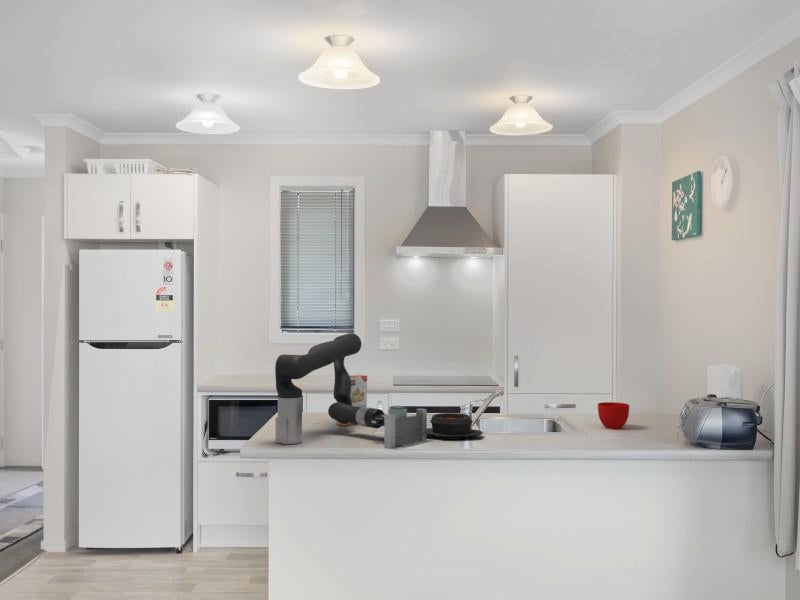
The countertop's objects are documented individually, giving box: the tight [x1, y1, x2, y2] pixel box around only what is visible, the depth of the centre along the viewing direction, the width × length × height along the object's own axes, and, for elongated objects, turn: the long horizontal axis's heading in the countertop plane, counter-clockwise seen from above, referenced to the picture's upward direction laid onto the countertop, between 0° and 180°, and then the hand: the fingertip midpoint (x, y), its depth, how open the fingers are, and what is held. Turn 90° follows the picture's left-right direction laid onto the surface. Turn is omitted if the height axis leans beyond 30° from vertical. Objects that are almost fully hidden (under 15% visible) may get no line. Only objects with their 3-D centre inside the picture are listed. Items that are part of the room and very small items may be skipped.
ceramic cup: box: [597, 401, 630, 430], centre depth 326 cm, size 13×17×10 cm
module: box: [387, 405, 408, 419], centre depth 290 cm, size 5×5×13 cm
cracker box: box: [336, 374, 368, 427], centre depth 332 cm, size 14×6×21 cm, turn 143°
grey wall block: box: [383, 408, 429, 449], centre depth 286 cm, size 21×6×12 cm, turn 139°
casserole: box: [427, 412, 484, 440], centre depth 302 cm, size 25×19×8 cm
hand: (402, 422), depth 288 cm, fingers closed on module, 5 cm apart
